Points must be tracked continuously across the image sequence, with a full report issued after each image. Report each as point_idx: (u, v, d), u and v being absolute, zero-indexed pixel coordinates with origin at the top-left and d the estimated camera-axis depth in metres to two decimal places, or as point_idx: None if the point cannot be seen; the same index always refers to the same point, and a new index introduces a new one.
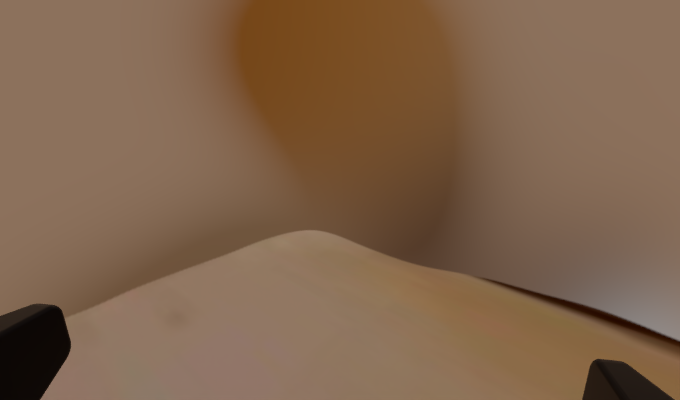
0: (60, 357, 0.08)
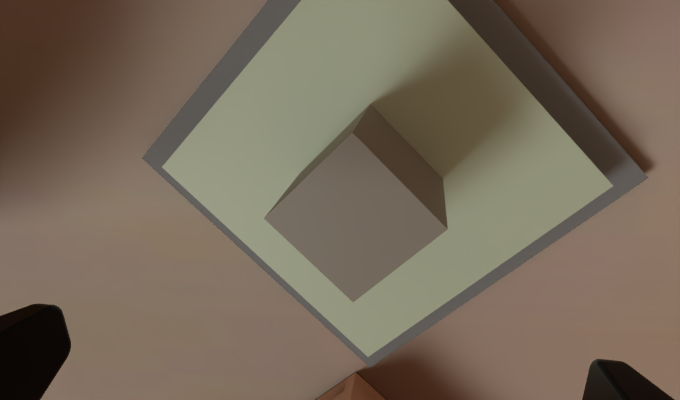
0: (60, 357, 0.08)
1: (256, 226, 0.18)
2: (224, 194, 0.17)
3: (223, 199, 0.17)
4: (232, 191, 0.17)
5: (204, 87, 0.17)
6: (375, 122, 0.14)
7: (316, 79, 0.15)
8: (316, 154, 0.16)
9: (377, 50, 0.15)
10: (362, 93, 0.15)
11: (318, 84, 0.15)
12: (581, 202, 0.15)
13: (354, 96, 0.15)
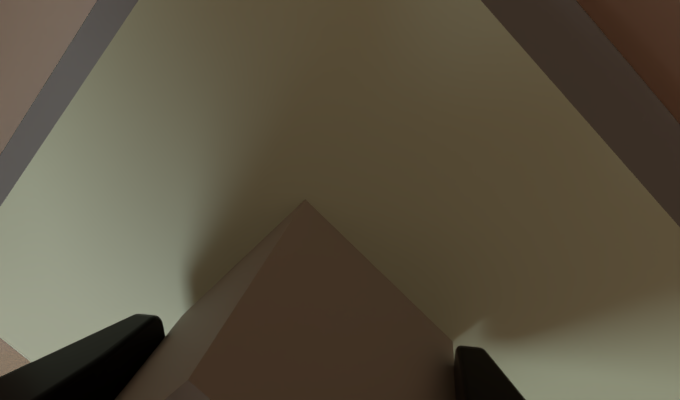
0: None
1: None
2: (55, 341, 0.10)
3: (55, 349, 0.10)
4: (68, 337, 0.09)
5: (13, 149, 0.09)
6: (304, 259, 0.06)
7: (195, 149, 0.07)
8: (209, 286, 0.08)
9: (313, 94, 0.07)
10: (289, 179, 0.07)
11: (200, 160, 0.07)
12: None
13: (272, 183, 0.07)
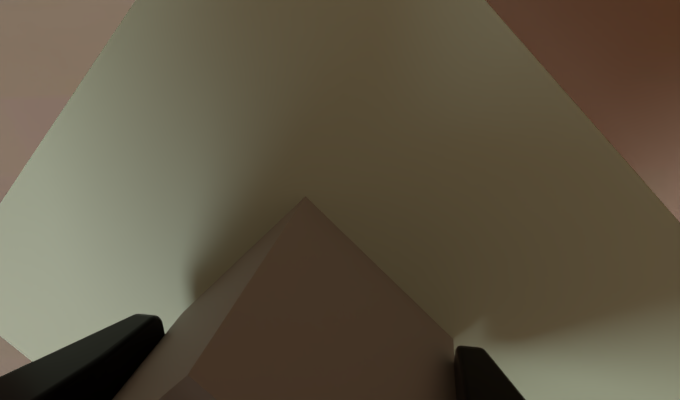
0: None
1: None
2: (55, 339, 0.10)
3: (55, 347, 0.10)
4: (68, 335, 0.09)
5: None
6: (304, 256, 0.06)
7: (195, 146, 0.07)
8: (208, 284, 0.08)
9: (313, 91, 0.07)
10: (289, 177, 0.07)
11: (199, 156, 0.07)
12: None
13: (272, 181, 0.07)
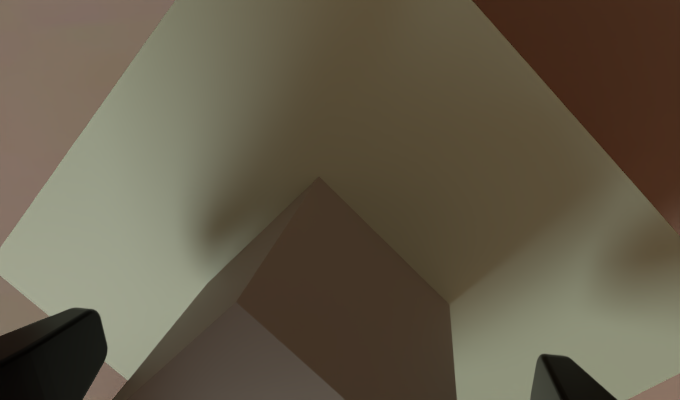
0: (98, 362, 0.08)
1: (145, 359, 0.11)
2: None
3: None
4: (102, 306, 0.10)
5: None
6: (320, 225, 0.07)
7: (221, 132, 0.08)
8: (231, 257, 0.09)
9: (327, 83, 0.08)
10: (305, 159, 0.08)
11: (225, 142, 0.08)
12: None
13: (290, 162, 0.08)
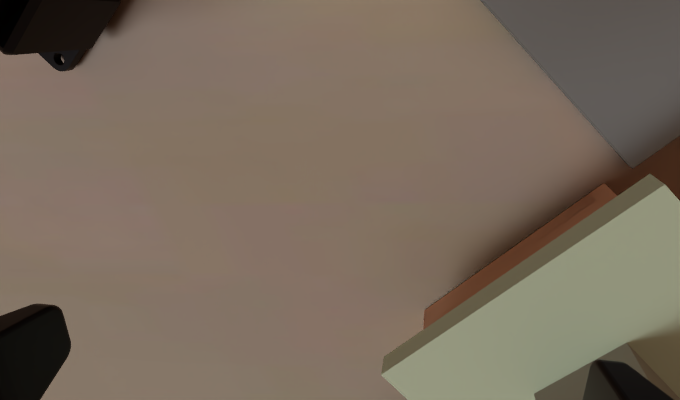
0: (60, 357, 0.08)
1: None
2: None
3: None
4: None
5: None
6: (653, 382, 0.14)
7: (570, 316, 0.15)
8: (555, 380, 0.16)
9: (644, 298, 0.14)
10: (620, 333, 0.15)
11: (571, 321, 0.15)
12: None
13: (609, 334, 0.15)
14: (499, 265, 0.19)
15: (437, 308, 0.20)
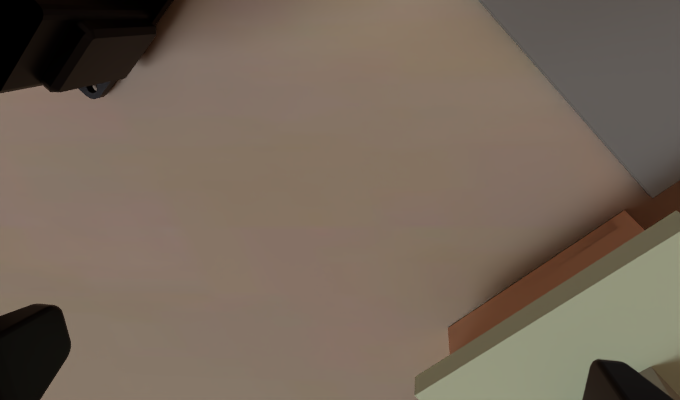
0: (60, 357, 0.08)
1: None
2: None
3: None
4: None
5: None
6: None
7: (598, 342, 0.16)
8: None
9: (669, 326, 0.15)
10: (645, 358, 0.16)
11: (599, 347, 0.16)
12: None
13: (635, 358, 0.16)
14: (522, 287, 0.20)
15: (461, 327, 0.21)
